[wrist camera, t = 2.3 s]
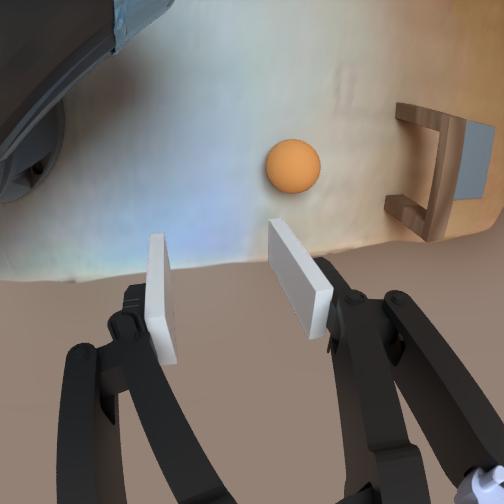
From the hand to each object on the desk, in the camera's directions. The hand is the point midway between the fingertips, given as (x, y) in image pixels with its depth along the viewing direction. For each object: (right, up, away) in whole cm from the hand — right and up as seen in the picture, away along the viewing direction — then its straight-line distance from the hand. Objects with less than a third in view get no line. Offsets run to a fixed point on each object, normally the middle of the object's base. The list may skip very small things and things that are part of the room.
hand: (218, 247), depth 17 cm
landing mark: (+35, +14, +22) cm, 44 cm away
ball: (+6, +8, +14) cm, 17 cm away
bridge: (+21, +12, +19) cm, 31 cm away
